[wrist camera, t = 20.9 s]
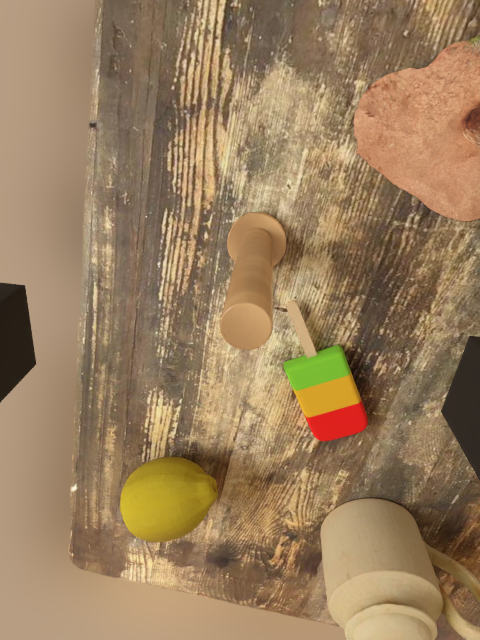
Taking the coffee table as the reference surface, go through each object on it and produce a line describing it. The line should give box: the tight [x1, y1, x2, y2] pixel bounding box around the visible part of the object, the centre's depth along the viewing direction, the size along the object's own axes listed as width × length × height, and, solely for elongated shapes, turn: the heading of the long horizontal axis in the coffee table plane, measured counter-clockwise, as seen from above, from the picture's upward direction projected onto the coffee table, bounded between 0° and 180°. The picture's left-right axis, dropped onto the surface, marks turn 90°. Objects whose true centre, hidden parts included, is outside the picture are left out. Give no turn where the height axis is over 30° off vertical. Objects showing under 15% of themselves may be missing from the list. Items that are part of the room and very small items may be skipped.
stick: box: [220, 212, 286, 350], centre depth 28 cm, size 5×5×16 cm
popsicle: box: [284, 301, 368, 441], centre depth 39 cm, size 6×15×2 cm, turn 23°
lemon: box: [120, 457, 218, 542], centre depth 43 cm, size 11×8×8 cm
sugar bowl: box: [321, 498, 480, 640], centre depth 42 cm, size 15×11×15 cm
